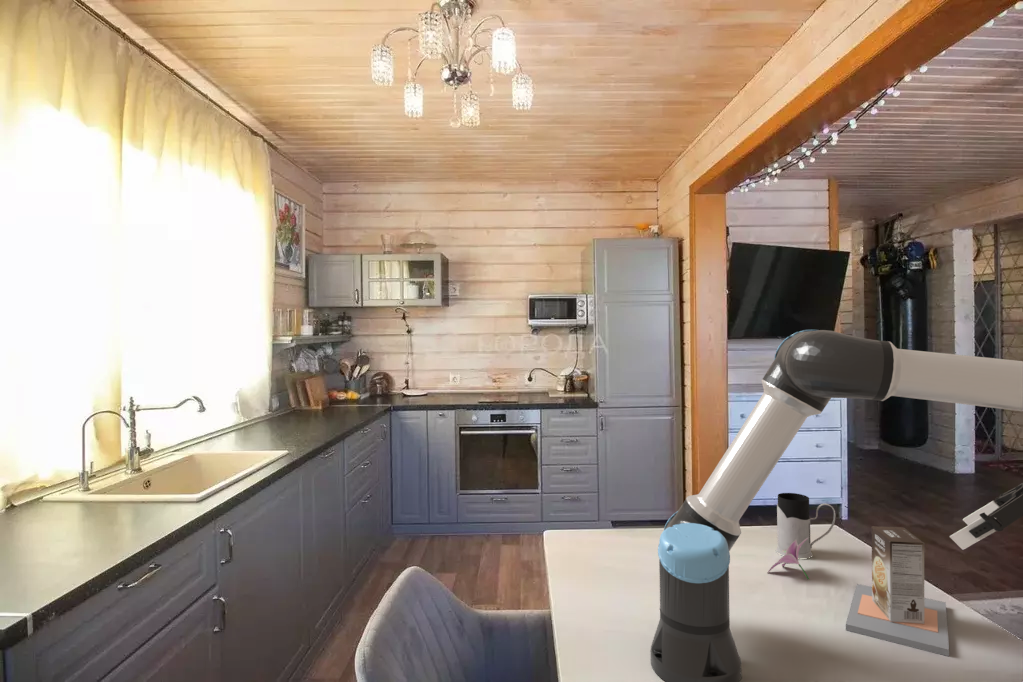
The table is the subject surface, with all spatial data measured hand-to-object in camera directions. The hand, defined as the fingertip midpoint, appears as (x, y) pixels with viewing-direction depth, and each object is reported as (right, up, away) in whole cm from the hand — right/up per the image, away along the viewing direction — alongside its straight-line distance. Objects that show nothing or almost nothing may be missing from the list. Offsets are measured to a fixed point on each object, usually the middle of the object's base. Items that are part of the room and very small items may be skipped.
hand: (962, 533), depth 107 cm
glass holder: (-8, -20, +42) cm, 47 cm away
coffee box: (-7, -19, +8) cm, 21 cm away
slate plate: (-7, -20, +8) cm, 23 cm away
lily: (-18, -20, +30) cm, 40 cm away
